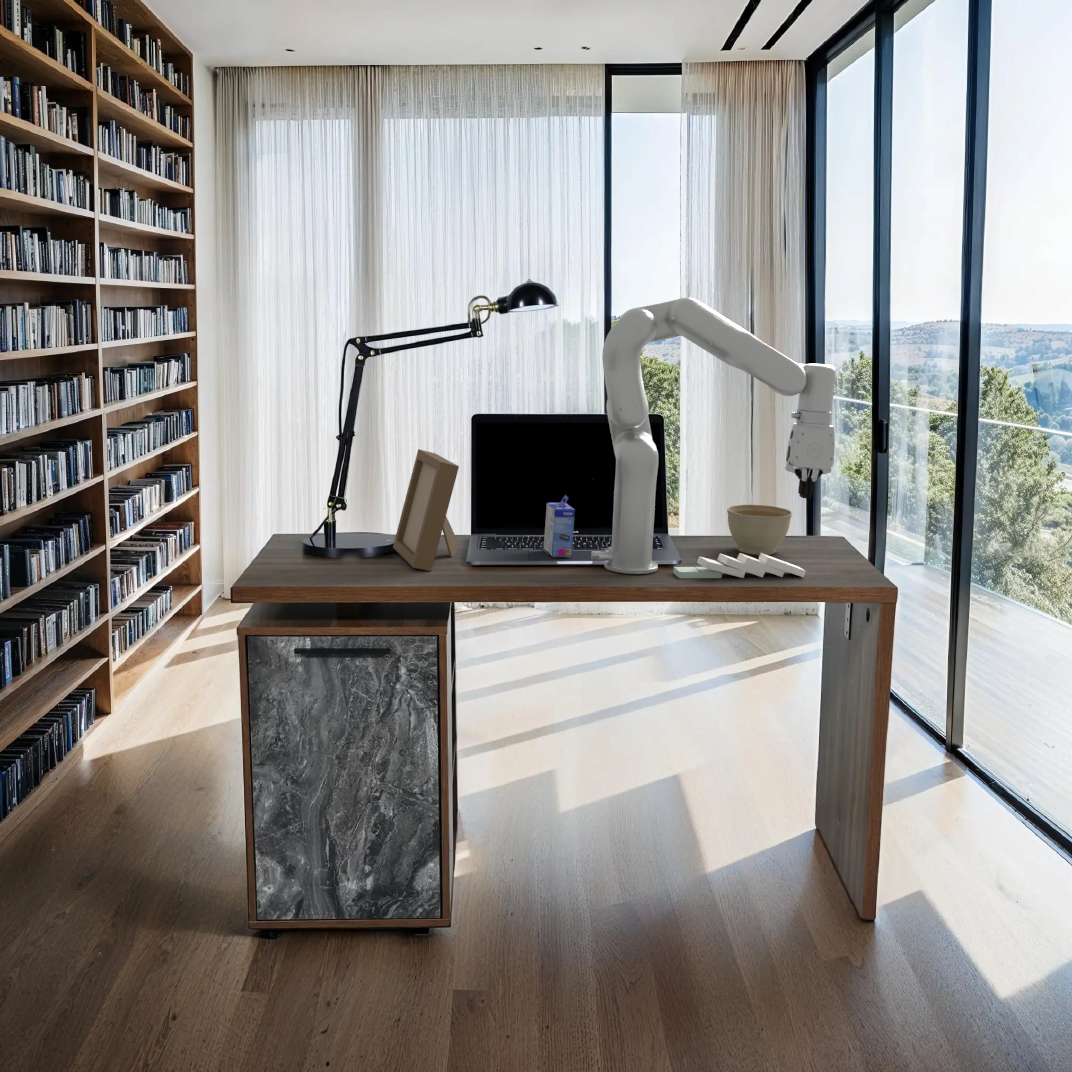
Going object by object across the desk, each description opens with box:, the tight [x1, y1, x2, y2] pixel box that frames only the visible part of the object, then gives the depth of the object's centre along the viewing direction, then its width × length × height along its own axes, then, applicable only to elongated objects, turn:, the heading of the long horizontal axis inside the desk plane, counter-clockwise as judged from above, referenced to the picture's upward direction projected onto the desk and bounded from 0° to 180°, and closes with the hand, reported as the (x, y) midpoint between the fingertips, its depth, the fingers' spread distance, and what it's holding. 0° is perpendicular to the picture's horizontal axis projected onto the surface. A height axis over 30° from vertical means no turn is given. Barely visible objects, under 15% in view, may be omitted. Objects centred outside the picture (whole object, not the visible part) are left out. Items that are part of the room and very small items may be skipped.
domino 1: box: [673, 566, 723, 579], centre depth 263 cm, size 2×5×10 cm
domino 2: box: [696, 556, 746, 579], centre depth 263 cm, size 2×5×10 cm
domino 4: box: [736, 552, 786, 578], centre depth 266 cm, size 2×5×10 cm
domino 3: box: [716, 553, 766, 578], centre depth 264 cm, size 2×5×10 cm
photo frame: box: [392, 448, 460, 572], centre depth 267 cm, size 15×22×25 cm
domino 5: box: [758, 553, 807, 578], centre depth 266 cm, size 2×5×10 cm
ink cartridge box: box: [543, 494, 576, 556], centre depth 279 cm, size 10×6×14 cm, turn 11°
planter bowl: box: [727, 504, 793, 556], centre depth 290 cm, size 16×16×11 cm
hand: (805, 497), depth 263 cm, fingers closed
